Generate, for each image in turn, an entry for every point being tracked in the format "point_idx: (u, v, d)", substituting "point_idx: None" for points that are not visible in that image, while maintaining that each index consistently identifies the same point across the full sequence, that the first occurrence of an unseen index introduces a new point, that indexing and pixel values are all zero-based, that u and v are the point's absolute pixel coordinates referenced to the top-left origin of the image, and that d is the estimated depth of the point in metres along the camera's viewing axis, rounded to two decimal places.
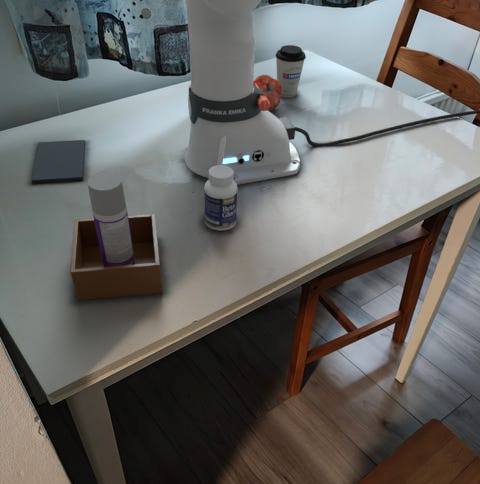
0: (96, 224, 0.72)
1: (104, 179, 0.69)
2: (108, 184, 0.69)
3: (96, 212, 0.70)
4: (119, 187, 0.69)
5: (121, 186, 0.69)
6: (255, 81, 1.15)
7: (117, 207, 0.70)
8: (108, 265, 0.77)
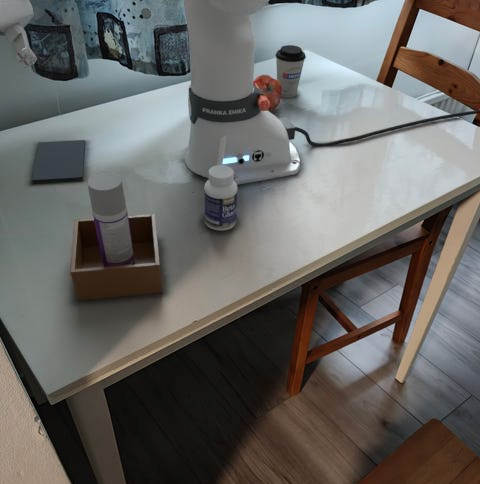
0: (96, 224, 0.72)
1: (104, 178, 0.69)
2: (108, 184, 0.69)
3: (96, 212, 0.70)
4: (119, 187, 0.69)
5: (121, 186, 0.69)
6: (255, 81, 1.15)
7: (117, 207, 0.70)
8: (108, 265, 0.77)
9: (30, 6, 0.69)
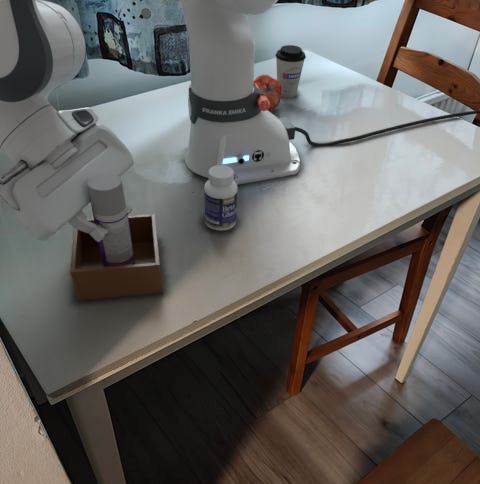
0: (96, 224, 0.72)
1: (104, 179, 0.69)
2: (108, 184, 0.69)
3: (96, 212, 0.70)
4: (119, 187, 0.69)
5: (121, 186, 0.69)
6: (255, 81, 1.15)
7: (117, 207, 0.70)
8: (108, 265, 0.77)
9: (131, 156, 0.77)
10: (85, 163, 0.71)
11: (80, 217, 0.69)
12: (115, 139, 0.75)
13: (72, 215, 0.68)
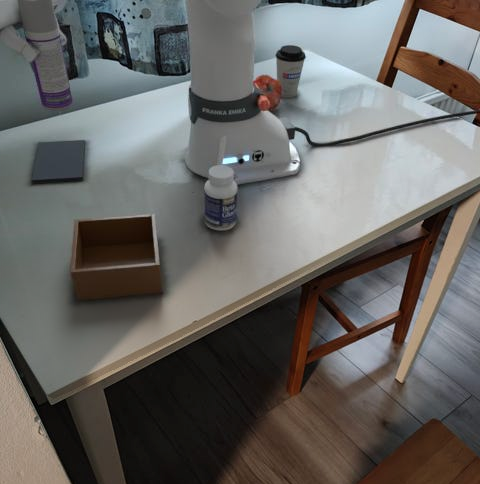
0: None
1: None
2: None
3: (27, 29, 0.72)
4: (48, 1, 0.70)
5: (50, 1, 0.71)
6: (255, 81, 1.15)
7: (47, 23, 0.72)
8: (44, 96, 0.79)
9: None
10: None
11: (10, 31, 0.71)
12: None
13: (1, 25, 0.69)
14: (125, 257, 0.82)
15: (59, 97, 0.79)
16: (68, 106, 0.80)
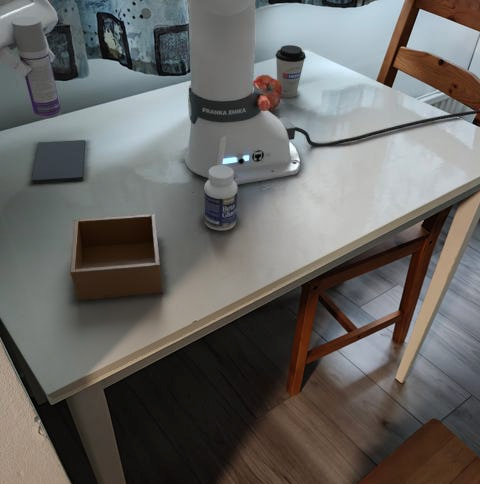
0: None
1: (26, 19, 0.83)
2: (28, 22, 0.82)
3: (20, 49, 0.84)
4: (38, 25, 0.83)
5: (40, 25, 0.83)
6: (255, 81, 1.15)
7: (37, 44, 0.84)
8: (35, 106, 0.91)
9: (55, 13, 0.91)
10: (12, 10, 0.85)
11: (6, 51, 0.83)
12: None
13: None
14: (125, 257, 0.82)
15: (48, 107, 0.91)
16: (57, 114, 0.93)
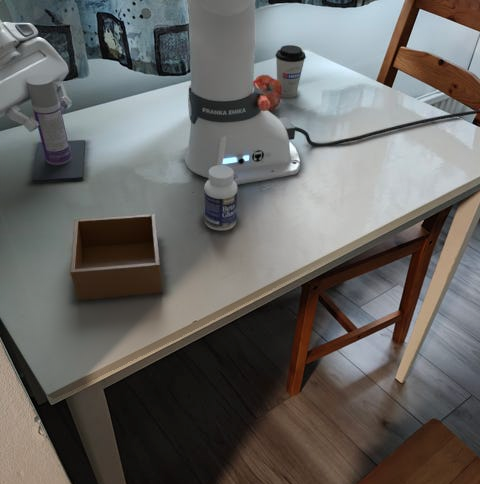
0: (35, 116, 0.93)
1: (40, 78, 0.90)
2: (42, 81, 0.89)
3: (34, 105, 0.91)
4: (51, 84, 0.89)
5: (53, 83, 0.90)
6: (255, 81, 1.15)
7: (50, 100, 0.91)
8: (48, 154, 0.98)
9: (66, 65, 0.97)
10: (26, 66, 0.92)
11: (14, 109, 0.88)
12: (52, 51, 0.95)
13: (14, 102, 0.88)
14: (125, 257, 0.82)
15: (60, 155, 0.98)
16: (67, 160, 0.99)
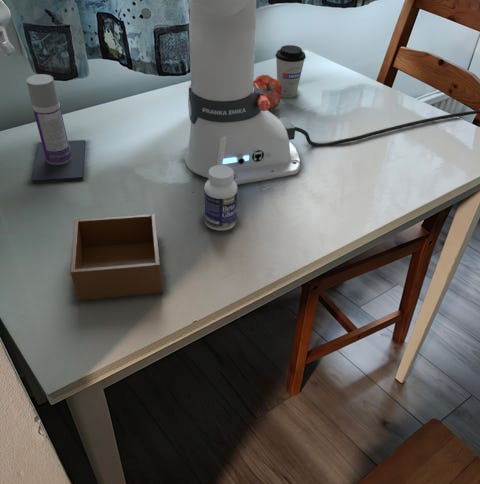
0: (35, 116, 0.93)
1: (39, 78, 0.90)
2: (42, 81, 0.89)
3: (34, 105, 0.91)
4: (51, 84, 0.89)
5: (53, 83, 0.90)
6: (255, 81, 1.15)
7: (50, 100, 0.91)
8: (48, 154, 0.98)
9: (8, 10, 0.94)
10: None
11: None
12: None
13: None
14: (125, 257, 0.82)
15: (60, 155, 0.98)
16: (67, 160, 0.99)
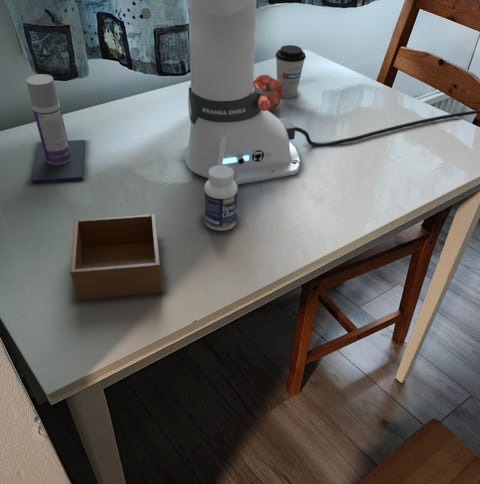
0: (35, 116, 0.93)
1: (39, 78, 0.90)
2: (42, 81, 0.89)
3: (34, 105, 0.91)
4: (51, 84, 0.89)
5: (53, 83, 0.90)
6: (255, 81, 1.15)
7: (50, 100, 0.91)
8: (48, 154, 0.98)
9: None
10: None
11: None
12: None
13: None
14: (125, 257, 0.82)
15: (60, 154, 0.98)
16: (67, 160, 0.99)
